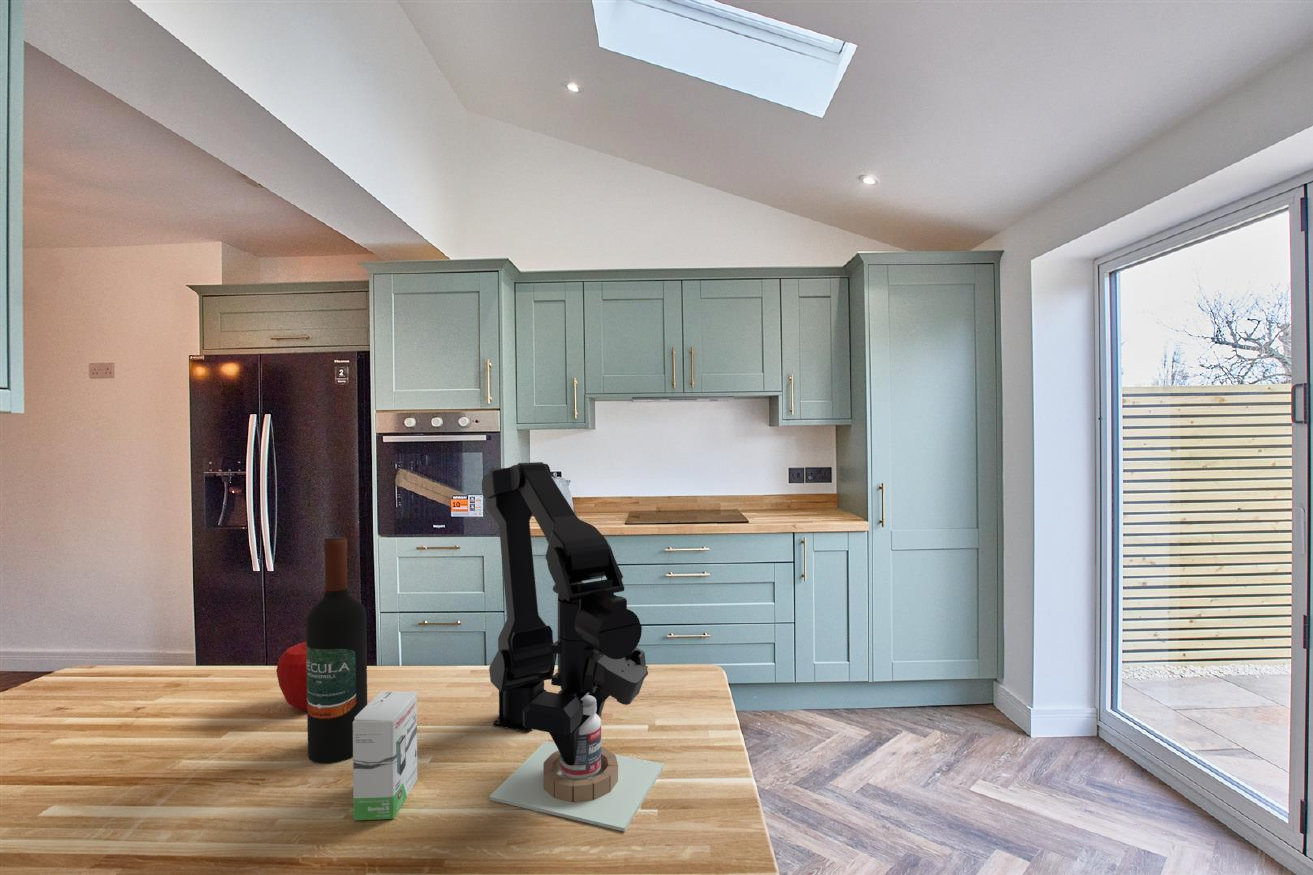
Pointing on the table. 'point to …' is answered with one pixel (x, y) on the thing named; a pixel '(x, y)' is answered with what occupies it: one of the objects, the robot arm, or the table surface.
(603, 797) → the collar board
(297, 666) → the apple
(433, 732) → the table surface
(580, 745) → the pill bottle
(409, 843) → the table surface
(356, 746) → the ink box
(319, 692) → the wine bottle
